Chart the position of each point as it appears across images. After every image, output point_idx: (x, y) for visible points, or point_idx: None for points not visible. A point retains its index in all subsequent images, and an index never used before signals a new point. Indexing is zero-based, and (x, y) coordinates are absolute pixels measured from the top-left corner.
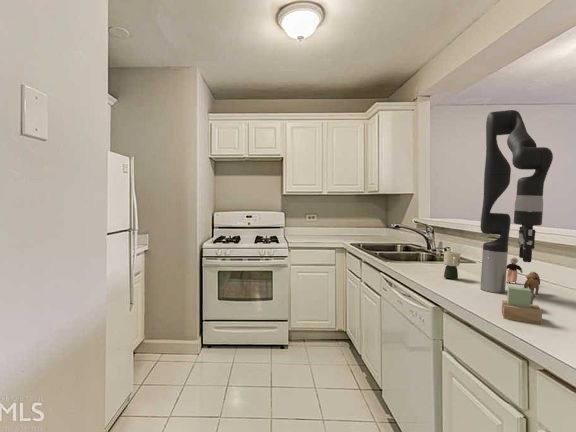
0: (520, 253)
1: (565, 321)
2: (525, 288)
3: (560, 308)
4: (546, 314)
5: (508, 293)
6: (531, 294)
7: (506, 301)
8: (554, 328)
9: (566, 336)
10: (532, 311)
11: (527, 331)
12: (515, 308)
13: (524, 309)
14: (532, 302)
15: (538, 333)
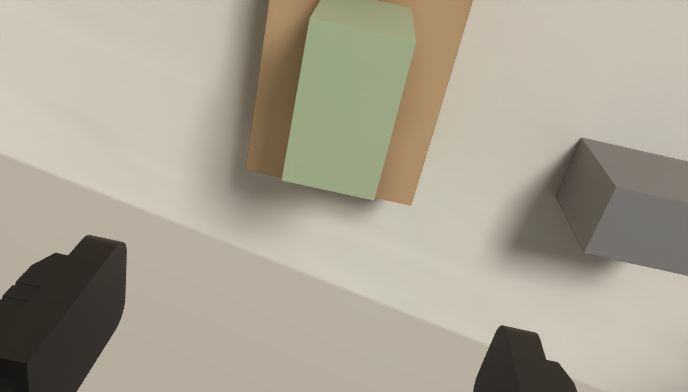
0: (507, 377)
1: (382, 281)
2: (374, 170)
3: (651, 365)
4: (493, 244)
5: (347, 12)
6: (613, 252)
7: (441, 13)
8: (218, 176)
9: (106, 177)
10: (253, 117)
11: (74, 3)
12: (267, 20)
13: (259, 75)
14: (571, 223)
15: (73, 54)
